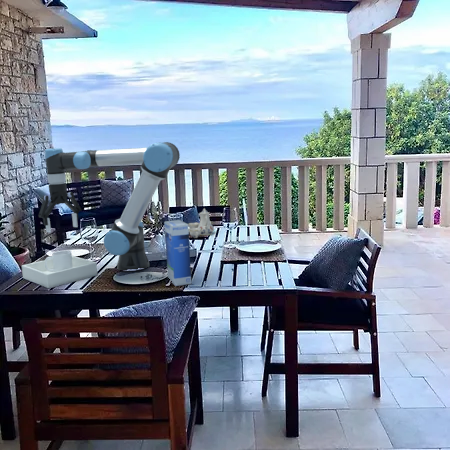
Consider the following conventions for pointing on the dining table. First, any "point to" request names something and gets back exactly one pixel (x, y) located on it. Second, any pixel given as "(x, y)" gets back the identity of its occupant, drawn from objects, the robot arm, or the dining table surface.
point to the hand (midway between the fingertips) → (62, 229)
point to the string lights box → (178, 252)
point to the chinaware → (201, 226)
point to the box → (59, 272)
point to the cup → (60, 261)
